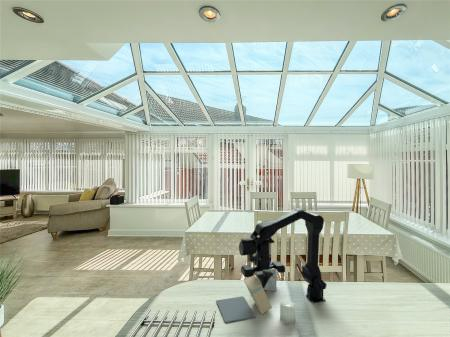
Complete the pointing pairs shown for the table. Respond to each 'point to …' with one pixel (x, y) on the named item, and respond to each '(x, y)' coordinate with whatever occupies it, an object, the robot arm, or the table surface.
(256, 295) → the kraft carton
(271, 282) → the product box
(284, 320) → the white rounded cylinder
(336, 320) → the table surface
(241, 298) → the mat
